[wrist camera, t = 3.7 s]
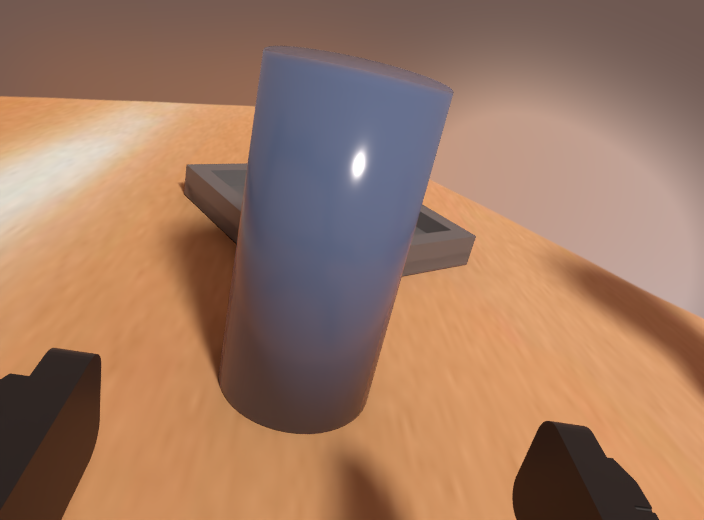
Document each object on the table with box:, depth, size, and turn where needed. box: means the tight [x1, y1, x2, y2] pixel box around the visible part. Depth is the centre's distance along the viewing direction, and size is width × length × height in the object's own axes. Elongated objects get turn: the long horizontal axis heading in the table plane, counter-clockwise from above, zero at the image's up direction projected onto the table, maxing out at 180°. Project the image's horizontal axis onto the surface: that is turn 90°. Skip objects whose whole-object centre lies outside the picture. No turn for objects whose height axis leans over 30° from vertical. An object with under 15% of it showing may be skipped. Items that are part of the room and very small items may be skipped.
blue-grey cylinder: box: [219, 46, 453, 434], centre depth 19 cm, size 5×5×11 cm
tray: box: [184, 164, 476, 276], centre depth 33 cm, size 12×12×2 cm
